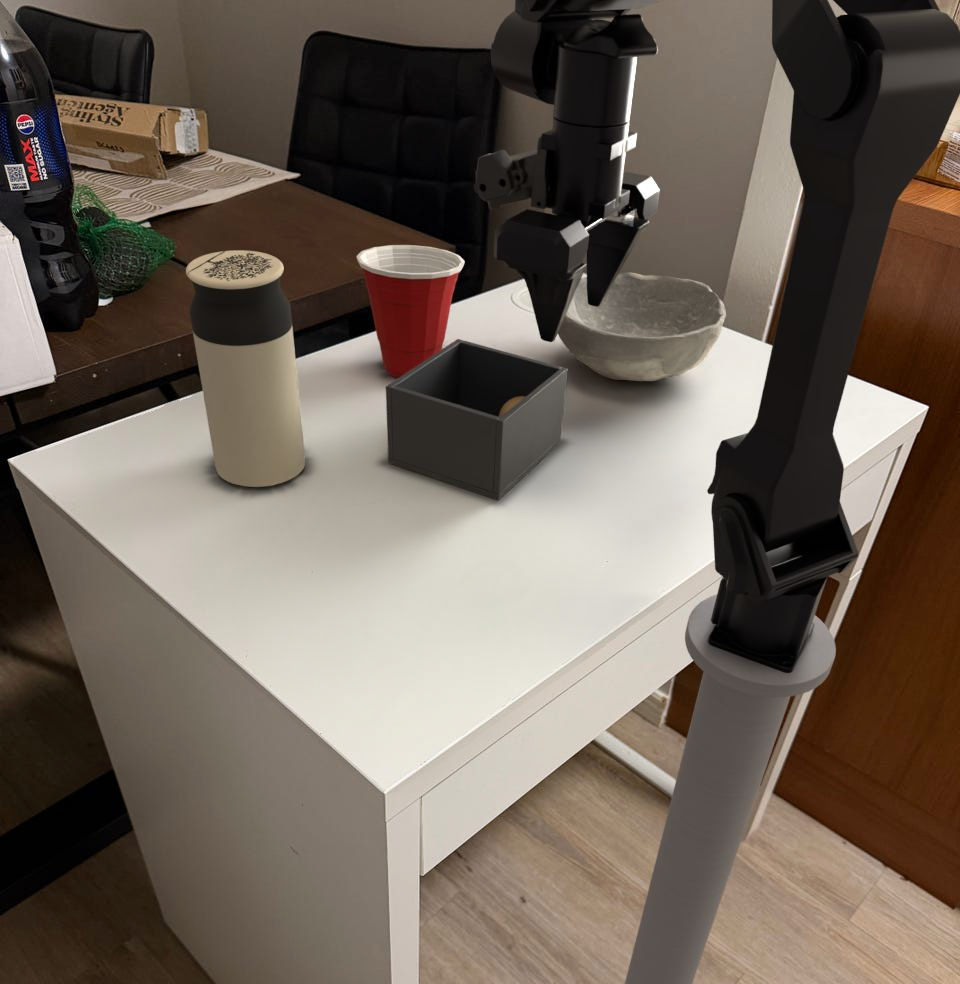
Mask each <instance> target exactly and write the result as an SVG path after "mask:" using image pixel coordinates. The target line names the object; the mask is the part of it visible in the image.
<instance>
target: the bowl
mask: <svg viewBox="0 0 960 984" xmlns="http://www.w3.org/2000/svg"><path fill="white" fill-rule="evenodd" d="M726 317H727V312H726V307H725V304H724V303H723V301H722V300H721V299H720V298H719V296H718V294H717V293H716V292H715V291H713V290H712V289H711V288H710V286H709V285H708V284H705V283H704V282H701V281H696V280H693V279H689V278H677V277H672V276H665V275H661V276H659V275H652V274H648V275H647V274H646V275H642V274H640V273H636V272H624V273H618V275H617V277H616V279H615V280H614V282H613V284H612V286H611V287H610V289H609V291H608V293H607V294H606V296H605V298H604V300H603V302H602V303H601V305H600V306H598V307H596V306H591V305H589V304H588V299H587V276H584V277H581V280H580V282H579V285H578V287H577V289H576V291H575V294H574V296H573V299H572V301H571V304H570V306H569V308H568V311H567V313H566V316H565V318H564V320H563V323H562V325H561V327H560V329H559V332H558V334H557V336H558V337H559V340H560V341H561V342H562V344H563V345H564V346H565V347H566V349H567V350H568V352H569V353H570V354H571V355H572V356H574V357H575V359H577V360H578V361H579V362H580V363H582V364H583V365H584V366H585V365H586V366H587V367H588V368H590V369H591V370H592V371H593V372H595V373H596V374H599V375H601V376H603V377H605V378H607V379H611V380H615V381H616V380H617V381H621V380H622V381H623V380H624V381H635V382H636V381H637V382H654V381H655V382H656V381H659V380H665V379H667V378H668V379H669V378H671V377H678V376H681V375H682V374H684V373H686V372H688V371H691V370H692V369H694V368H696V367H698V366H699V365H700V364H701V363H703V361H704V360H705V359H706V357H708V354H709V353H710V352H711V350H712V349H713V346H714V345H715V343H716V342H717V341H718V339H719V338H720V335H721V333H722V328H723V324H724V322H725V319H726Z"/></svg>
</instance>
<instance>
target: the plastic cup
mask: <svg viewBox="0 0 960 984" xmlns="http://www.w3.org/2000/svg"><path fill="white" fill-rule="evenodd" d="M356 260H357V263H358V264H359V267H360V268H361V270H362V274H363V278H364V280H365V286H366V289H367V292H368V297H369V302H370V307H371V312H372V317H373V323H374V328H375V333H376V337H377V338H376V339H377V341H378V344H379V348H380V352H381V358H382V363H383V366H384V369H385V371H386V373H387V374H389V375H390V376H392V377H393V378H396V379H398V378H399V377H401V376H402V375H404V374H405V373H407V372H408V371H410V370H411V369H413V368H414V367H416V366H417V365H419V364H420V363H422V362H424V361H425V360H427V359H428V358H430V357H431V356H433V355H434V354H436V353H437V352H439V351H440V350H442V349H443V346H444V342H445V339H446V333H447V328H448V322H449V317H450V311H451V306H452V301H453V294H454V291H455V289H456V284H457V281H458V278H459V274H460V273H461V271H462V269H463V268H464V265H465V260H464V258H462V257H461V256H460V255H459V254H457V253H454V252H452V251H449V250H446V249H442V248H437V247H433V246H425V245H415V244H413V245H411V244H391V245H390V244H389V245H381V246H374V247H370V248H367V249H363V250H361V251H360V252H359V253H358V254H357V255H356Z"/></svg>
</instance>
